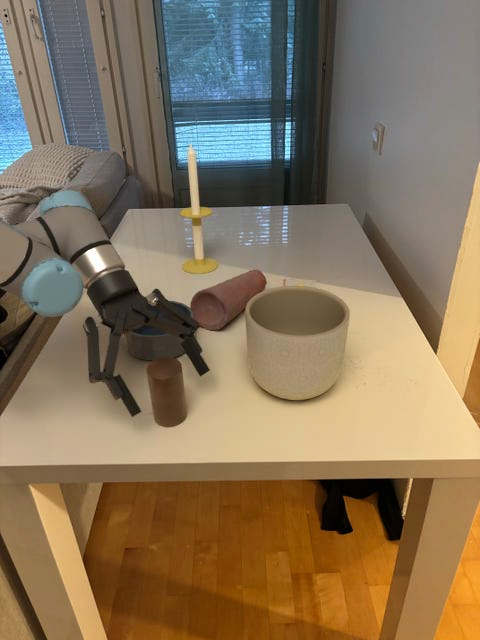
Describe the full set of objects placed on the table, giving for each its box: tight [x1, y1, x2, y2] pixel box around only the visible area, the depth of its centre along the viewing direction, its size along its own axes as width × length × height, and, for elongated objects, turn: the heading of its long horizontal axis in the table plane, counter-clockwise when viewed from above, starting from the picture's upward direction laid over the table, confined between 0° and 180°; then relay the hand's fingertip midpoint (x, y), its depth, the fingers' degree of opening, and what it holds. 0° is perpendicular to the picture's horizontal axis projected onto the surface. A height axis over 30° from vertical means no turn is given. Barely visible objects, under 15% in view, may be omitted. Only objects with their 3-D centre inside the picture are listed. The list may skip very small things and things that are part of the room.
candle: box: [179, 141, 219, 275], centre depth 120 cm, size 10×10×32 cm
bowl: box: [123, 300, 197, 361], centre depth 95 cm, size 14×14×6 cm
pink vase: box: [189, 269, 268, 331], centre depth 105 cm, size 21×9×9 cm, turn 151°
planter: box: [244, 285, 351, 401], centre depth 80 cm, size 17×17×15 cm
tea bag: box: [282, 278, 317, 288], centre depth 100 cm, size 4×7×10 cm, turn 79°
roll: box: [145, 357, 188, 428], centre depth 75 cm, size 6×6×10 cm
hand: (172, 393), depth 74 cm, fingers open, 13 cm apart
